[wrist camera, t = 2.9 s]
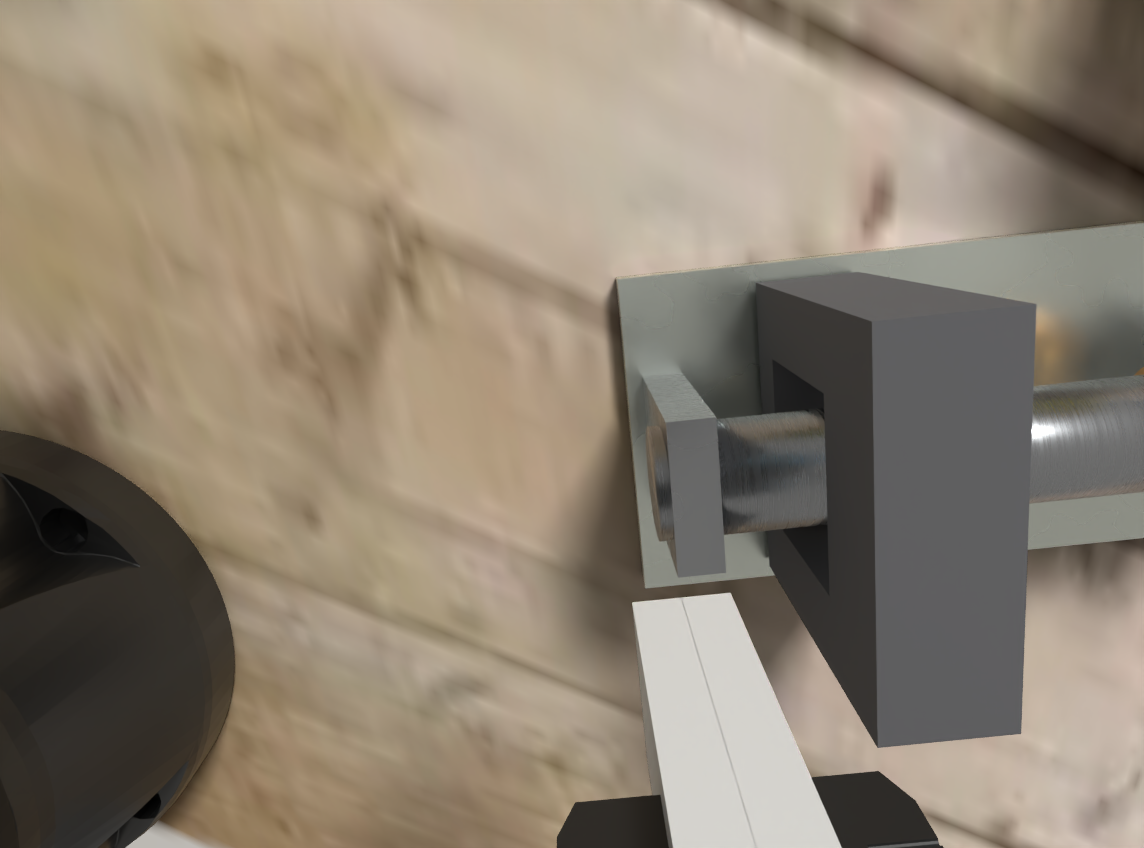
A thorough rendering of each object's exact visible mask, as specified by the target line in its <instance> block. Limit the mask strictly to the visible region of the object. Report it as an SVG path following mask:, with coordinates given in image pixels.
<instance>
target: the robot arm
mask: <svg viewBox="0 0 1144 848" xmlns="http://www.w3.org/2000/svg"><path fill="white" fill-rule="evenodd" d="M632 607H633V618H634V628H635V639H636V649H637V660H638V670H639V681H640V691H641V702H642V712H643V723H644V733H645V744H646V754H647V762H648V769H649V776H650V783H651V790H652V795H651V796H640V797H630V798H619V799H608V800H598V801H587V802H576V803H575V804H574V806H573V808H572V810H571V812H570V814H569V816H568V817H567V819H566V821H565V823H564V825H563V827H562V829H561V831H560V832H559V834H558V836H557V848H943V846H940V845H939V842H938V838H937V836H936V834H935V833H934V831H933V829H932V828H931V826H930V824H929V823H928V821H927V819H926V818H925V816H924V814H923V813H922V811H921V809H920V808H919V806H918V804H917V803H916V801H915V800H914V799H913V798H911V797H910V796H909V795H908V794H906V793H905V792H904V791H903V790H901V789H900V788H899V787H898V786H896V785H895V784H894V783H893V782H891V781H890V780H889V779H888V778H887V777H885V776H884V775H883V774H882V773H880V772H879V771H875V772H864V773H854V774H843V775H832V776H822V777H811V776H810V774H809V771H808V769H807V767H806V765H805V762H804V760H803V758H802V755H801V753H800V751H799V748H798V746H797V744H796V742H795V739H794V737H793V735H792V732H791V730H790V728H789V726H788V723H787V721H786V719H785V716H784V714H783V712H782V710H781V707H780V705H779V703H778V700H777V698H776V696H775V693H774V691H773V689H772V687H771V684H770V682H769V680H768V677H767V675H766V673H765V671H764V668H763V666H762V664H761V661H760V659H759V657H758V655H757V652H756V650H755V648H754V645H753V643H752V641H751V639H750V636H749V634H748V632H747V629H746V627H745V625H744V622H743V620H742V618H741V616H740V613H739V611H738V609H737V606H736V604H735V602H734V600H733V597H732V595H731V593H722V594H712V595H702V596H692V597H682V598H671V599H661V600H651V601H641V602H632ZM234 668H235V667H234V646H233V637H232V632H231V627H230V622H229V618H228V614H227V611H226V607H225V604H224V602H223V599H222V596H221V593H220V591H219V588H218V586H217V584H216V582H215V580H214V577H213V575H212V574H211V572H210V570H209V568H208V566H207V564H206V562H205V561H204V559H203V558H202V556H201V554H200V553H199V551H198V550H197V548H196V547H195V545H194V544H193V543H192V541H191V540H190V539H189V537H188V536H187V535H186V533H185V532H184V531H183V530H182V529H181V527H180V526H179V525H178V524H177V523H176V522H175V520H174V519H173V518H172V517H171V516H170V515H169V514H168V513H167V512H166V511H165V510H164V509H163V508H162V507H161V506H160V505H159V504H158V503H156V502H155V501H154V500H153V499H152V498H151V497H150V496H149V495H147V494H146V493H145V492H144V491H142V490H141V489H140V488H138V487H137V486H136V485H135V484H133V483H132V482H130V481H129V480H127V479H126V478H125V477H123V476H122V475H120V474H119V473H117V472H115V471H114V470H112V469H110V468H109V467H107V466H105V465H104V464H102V463H100V462H98V461H96V460H94V459H92V458H90V457H88V456H86V455H84V454H82V453H79V452H77V451H75V450H72V449H70V448H68V447H65V446H62V445H59V444H56V443H54V442H51V441H47V440H44V439H40V438H37V437H33V436H29V435H24V434H19V433H15V432H8V431H1V430H0V848H125V847H126V846H128V845H129V844H130V843H132V842H133V841H134V840H136V839H137V838H138V837H139V836H141V835H142V834H144V833H145V832H146V831H147V830H148V829H149V828H150V827H152V826H153V825H154V824H155V823H156V822H157V821H158V820H159V819H160V818H161V817H162V816H163V815H164V814H165V812H166V811H167V810H168V809H169V808H170V807H171V806H172V805H173V804H174V802H175V801H176V800H177V799H178V797H179V796H180V795H181V793H182V792H183V790H184V789H185V787H186V786H187V784H188V783H189V781H190V780H191V778H192V777H193V775H194V774H195V772H196V771H197V769H198V768H199V766H200V765H201V763H202V762H203V760H204V759H205V757H206V756H207V754H208V753H209V751H210V750H211V748H212V747H213V745H214V743H215V741H216V739H217V737H218V735H219V733H220V731H221V729H222V726H223V724H224V721H225V718H226V715H227V712H228V709H229V705H230V700H231V696H232V690H233V683H234Z"/></svg>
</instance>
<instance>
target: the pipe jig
mask: <svg viewBox="0 0 1144 848" xmlns="http://www.w3.org/2000/svg"><path fill="white" fill-rule="evenodd" d="M852 272H862V273H868V274H873V275H879V276H884V277H890V278H895V279H901V280H906V281H912V282H917V283H923V284H929V285H934V286H940V287H945V288H951V289H956V290H962V291H967V292H973V293H978V294H984V295H990V296H995V297H1001V298H1006V299H1012V300H1017V301H1023V302H1028V303H1034V304H1037V306H1036V334H1035V361H1034V389H1033V417H1032V444H1031V472H1030V499H1029V527H1028V550H1030V549H1040V548H1050V547H1060V546H1070V545H1079V544H1089V543H1099V542H1109V541H1119V540H1129V539H1139V538H1144V221H1138V222H1128V223H1119V224H1110V225H1100V226H1091V227H1082V228H1072V229H1063V230H1054V231H1044V232H1035V233H1026V234H1016V235H1007V236H998V237H988V238H979V239H970V240H960V241H951V242H942V243H933V244H923V245H914V246H905V247H895V248H886V249H877V250H867V251H858V252H849V253H839V254H830V255H821V256H811V257H802V258H793V259H783V260H774V261H765V262H755V263H746V264H737V265H727V266H718V267H709V268H700V269H690V270H681V271H672V272H662V273H653V274H644V275H634V276H625V277H616V286H617V297H618V308H619V319H620V330H621V341H622V352H623V363H624V374H625V385H626V396H627V407H628V418H629V429H630V440H631V451H632V462H633V473H634V484H635V495H636V506H637V517H638V529H639V540H640V551H641V562H642V573H643V580H644V585H645V589H646V588H656V587H665V586H675V585H685V584H695V583H705V582H715V581H725V580H734V579H744V578H754V577H764V576H774V575H775V574H774V573H773V571H772V569H771V568H770V566H769V547H768V530H778V529H788V528H798V527H808V526H817V525H827V489H826V455H825V420H824V408H819V409H809V410H800V411H790V412H781V413H771V414H762V403H761V382H760V362H759V341H758V320H757V300H756V283H758V282H767V281H777V280H786V279H796V278H805V277H814V276H824V275H833V274H842V273H852Z"/></svg>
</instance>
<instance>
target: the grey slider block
mask: <svg viewBox="0 0 1144 848" xmlns="http://www.w3.org/2000/svg"><path fill="white" fill-rule="evenodd" d="M756 300H757V320H758V341H759V362H760V382H761V403H762V414H771V413H781V412H790V411H800V410H809V409H819V408H824V420H825V455H826V489H827V525H817V526H808V527H798V528H788V529H778V530H768V547H769V566H770V568H771V569H772V571H773V573H774V574H775V576H776V578H777V579H778V581H779V583H780V584H781V586H782V588H783V589H784V591H785V593H786V594H787V596H788V598H789V600H790V601H791V603H792V605H793V606H794V608H795V610H796V611H797V613H798V615H799V616H800V618H801V620H802V621H803V623H804V625H805V626H806V628H807V630H808V631H809V633H810V635H811V636H812V638H813V640H814V642H815V643H816V645H817V647H818V648H819V650H820V652H821V653H822V655H823V657H824V658H825V660H826V662H827V663H828V665H829V667H830V668H831V670H832V672H833V673H834V675H835V677H836V678H837V680H838V682H839V684H840V685H841V687H842V689H843V690H844V692H845V694H846V695H847V697H848V699H849V700H850V702H851V704H852V705H853V707H854V709H855V710H856V712H857V714H858V715H859V717H860V719H861V720H862V722H863V724H864V726H865V727H866V729H867V731H868V732H869V734H870V736H871V737H872V739H873V741H874V742H875V744H876V746H877V747H878V748H881V747H891V746H901V745H911V744H921V743H932V742H942V741H952V740H962V739H972V738H983V737H993V736H1003V735H1013V734H1021V720H1022V692H1023V665H1024V637H1025V610H1026V582H1027V555H1028V527H1029V499H1030V472H1031V444H1032V417H1033V389H1034V361H1035V334H1036V306H1037V304H1034V303H1028V302H1023V301H1017V300H1012V299H1006V298H1001V297H995V296H990V295H984V294H978V293H973V292H967V291H962V290H956V289H951V288H945V287H940V286H934V285H929V284H923V283H917V282H912V281H906V280H901V279H895V278H890V277H884V276H879V275H873V274H868V273H862V272H852V273H842V274H833V275H824V276H814V277H805V278H796V279H786V280H777V281H767V282H758V283H756Z"/></svg>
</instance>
